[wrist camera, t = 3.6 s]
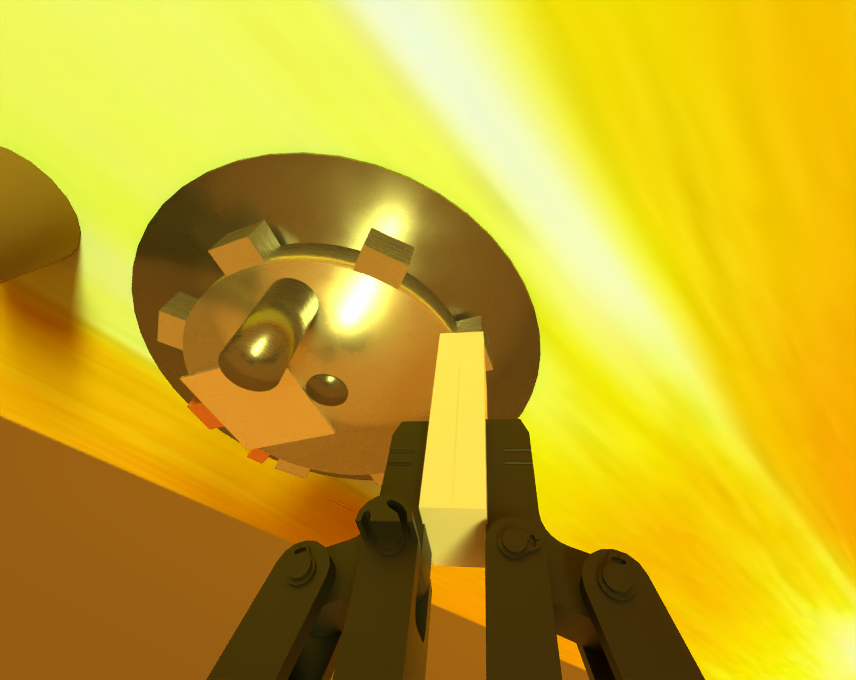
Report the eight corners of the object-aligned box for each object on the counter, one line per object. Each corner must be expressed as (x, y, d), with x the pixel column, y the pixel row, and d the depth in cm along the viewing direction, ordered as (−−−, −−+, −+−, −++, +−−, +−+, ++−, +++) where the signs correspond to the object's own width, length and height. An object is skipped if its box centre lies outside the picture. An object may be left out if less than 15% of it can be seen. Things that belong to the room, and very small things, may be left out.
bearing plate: (236, 478, 35) (232, 484, 34) (36, 181, 20) (26, 186, 20) (534, 477, 31) (535, 484, 31) (549, 120, 17) (552, 123, 16)
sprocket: (251, 462, 32) (205, 555, 27) (110, 234, 21) (-19, 312, 15) (496, 461, 29) (502, 563, 24) (485, 198, 18) (490, 276, 13)
